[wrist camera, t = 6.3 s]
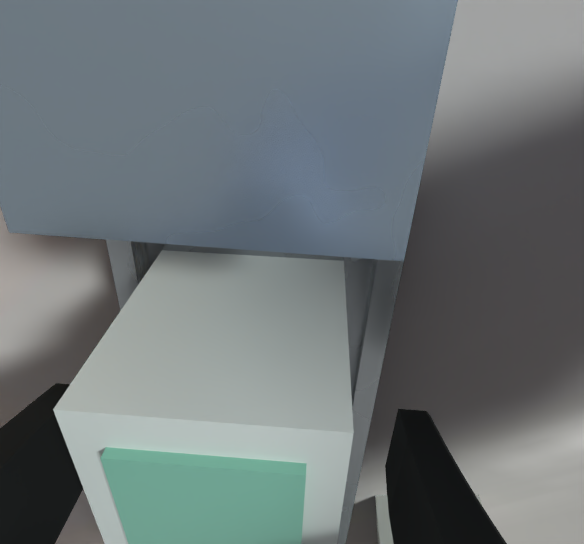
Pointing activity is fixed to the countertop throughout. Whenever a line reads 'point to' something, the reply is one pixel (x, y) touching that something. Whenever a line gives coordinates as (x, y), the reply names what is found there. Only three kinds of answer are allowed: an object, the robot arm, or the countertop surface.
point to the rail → (228, 140)
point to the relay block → (386, 520)
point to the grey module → (218, 404)
